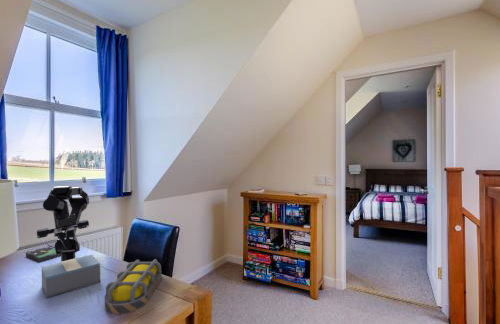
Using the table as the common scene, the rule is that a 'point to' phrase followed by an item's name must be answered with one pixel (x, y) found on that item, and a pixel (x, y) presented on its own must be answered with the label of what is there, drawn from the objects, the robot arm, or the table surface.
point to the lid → (69, 266)
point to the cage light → (132, 287)
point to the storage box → (70, 281)
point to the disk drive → (42, 254)
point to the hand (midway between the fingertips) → (66, 248)
